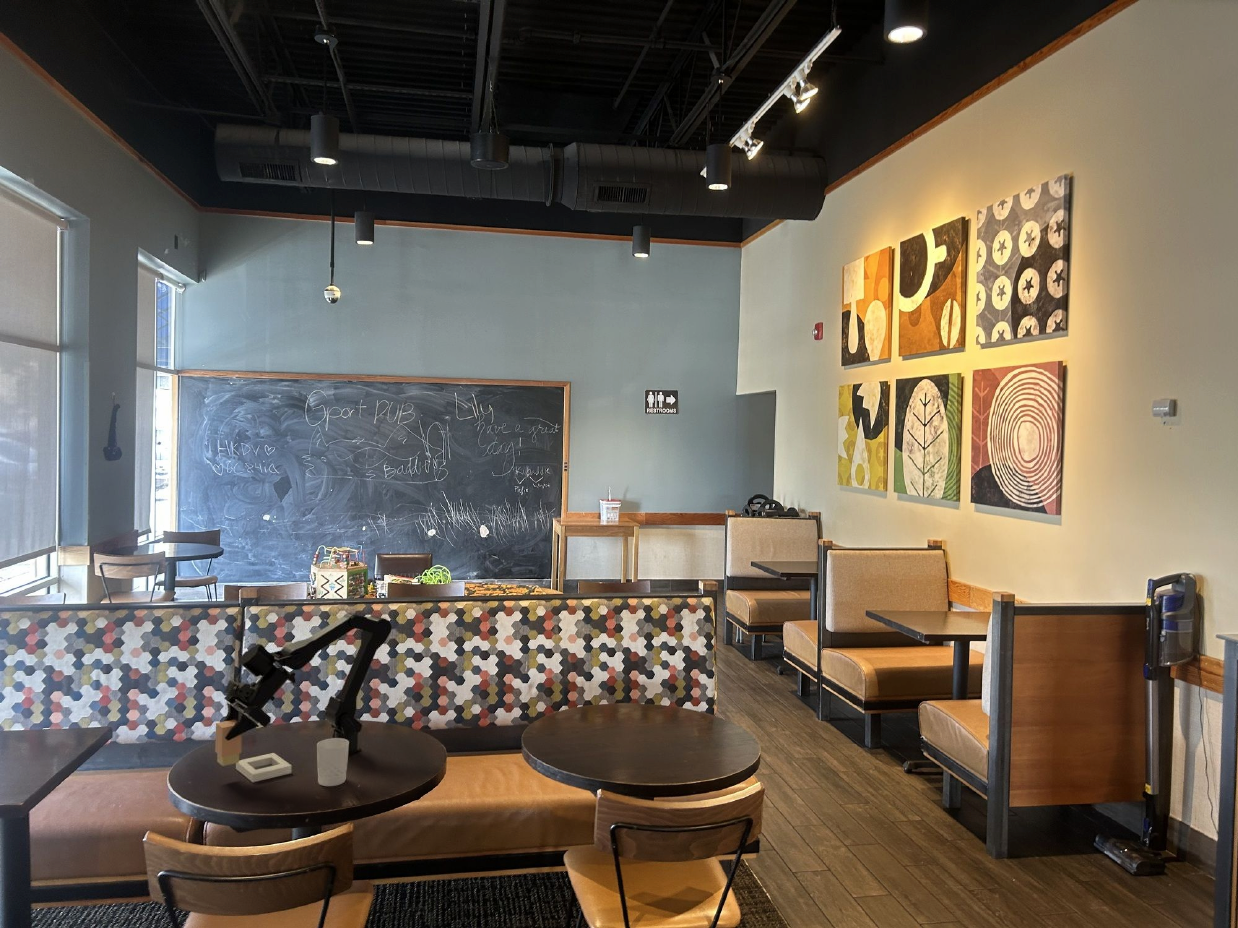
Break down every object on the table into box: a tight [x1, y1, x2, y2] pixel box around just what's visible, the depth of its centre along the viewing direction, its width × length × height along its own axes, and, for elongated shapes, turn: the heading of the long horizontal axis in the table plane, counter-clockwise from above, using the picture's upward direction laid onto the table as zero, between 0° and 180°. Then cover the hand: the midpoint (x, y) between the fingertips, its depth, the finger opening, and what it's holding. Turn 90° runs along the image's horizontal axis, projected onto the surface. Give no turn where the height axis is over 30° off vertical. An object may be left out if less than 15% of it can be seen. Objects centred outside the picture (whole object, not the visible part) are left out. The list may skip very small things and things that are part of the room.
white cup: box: [316, 737, 349, 787], centre depth 220 cm, size 8×8×10 cm
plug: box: [214, 720, 243, 767], centre depth 219 cm, size 5×5×10 cm
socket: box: [235, 752, 292, 783], centre depth 225 cm, size 10×12×2 cm
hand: (223, 736), depth 218 cm, fingers closed on plug, 5 cm apart
